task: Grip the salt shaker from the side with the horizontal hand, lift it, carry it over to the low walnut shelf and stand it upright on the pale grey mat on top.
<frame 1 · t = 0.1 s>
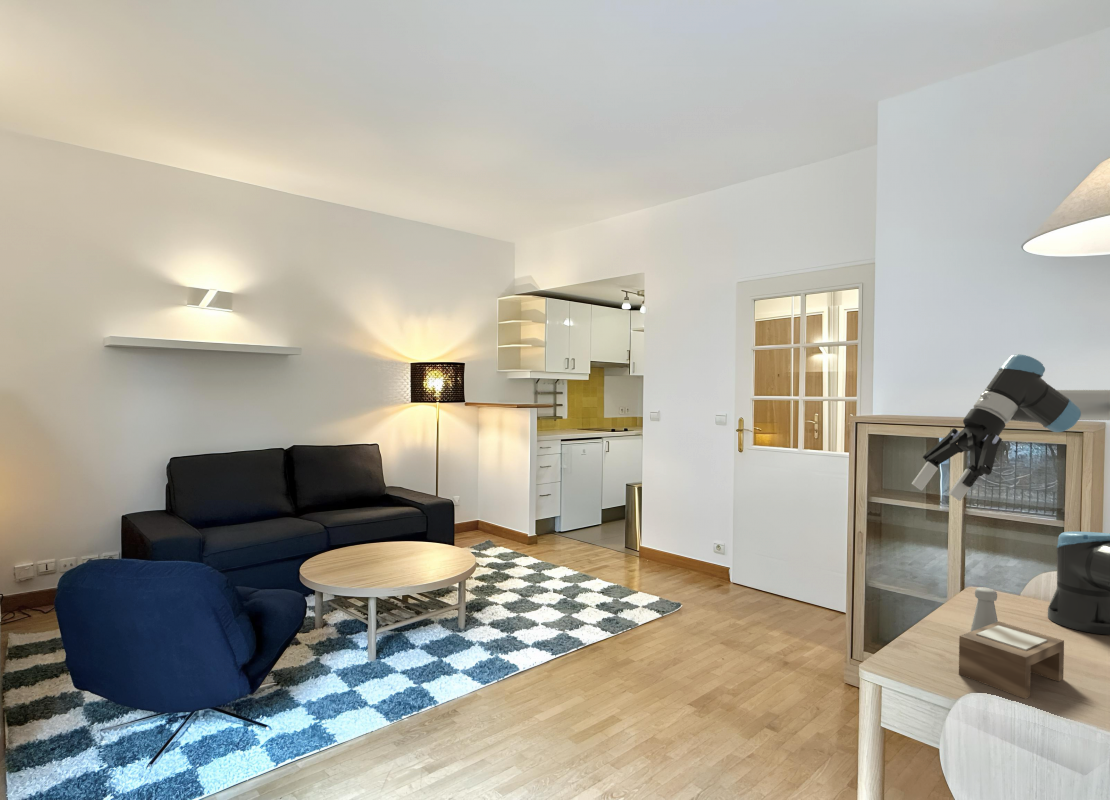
hand: (934, 492, 143), 36 cm above the table, tool tilted 35°, fingers open, 13 cm apart
salt shaker: (985, 645, 146), on the table
walnut shelf: (1010, 676, 130), on the table
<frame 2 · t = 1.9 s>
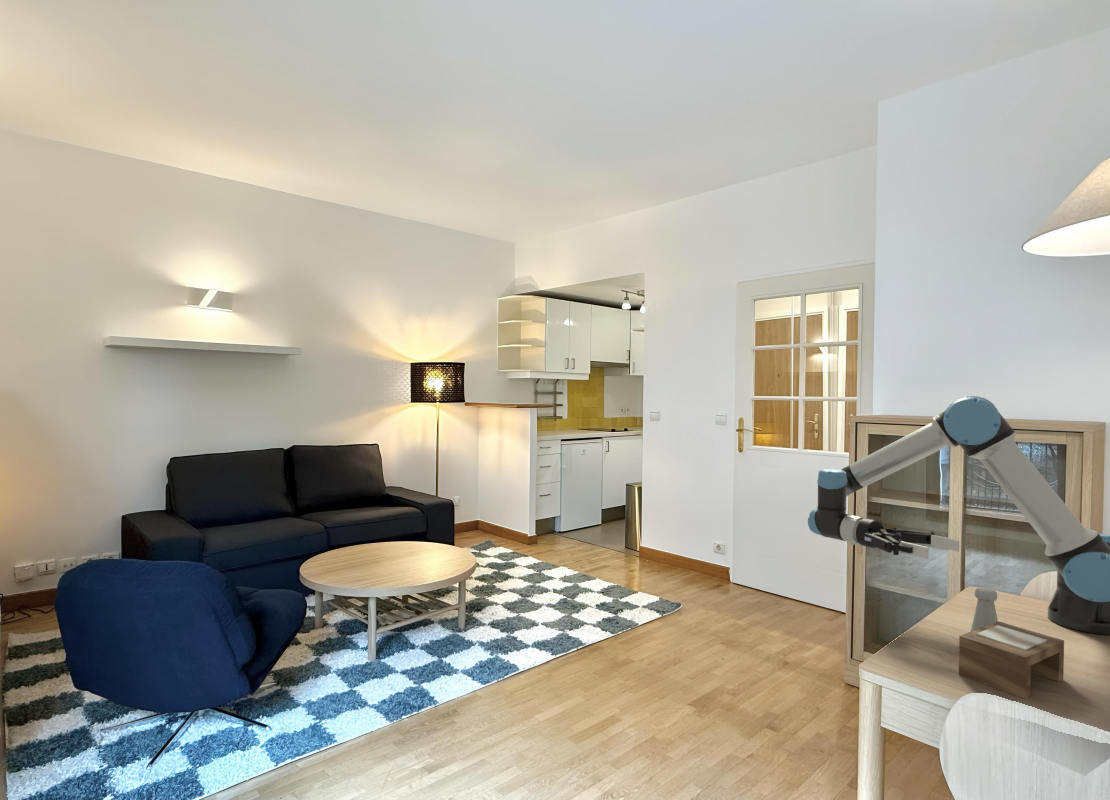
hand: (943, 549, 154), 20 cm above the table, tool horizontal, fingers open, 13 cm apart
nothing on the table moved.
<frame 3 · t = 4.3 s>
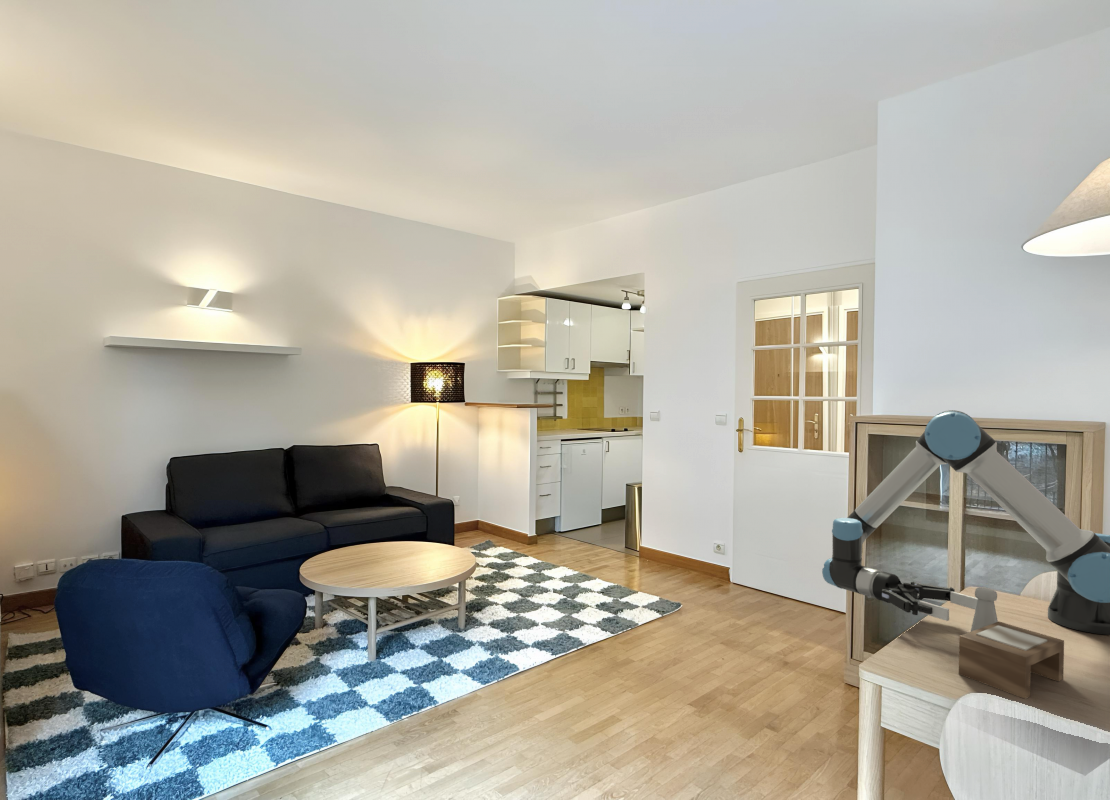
hand: (964, 609, 149), 7 cm above the table, tool horizontal, fingers open, 13 cm apart
nothing on the table moved.
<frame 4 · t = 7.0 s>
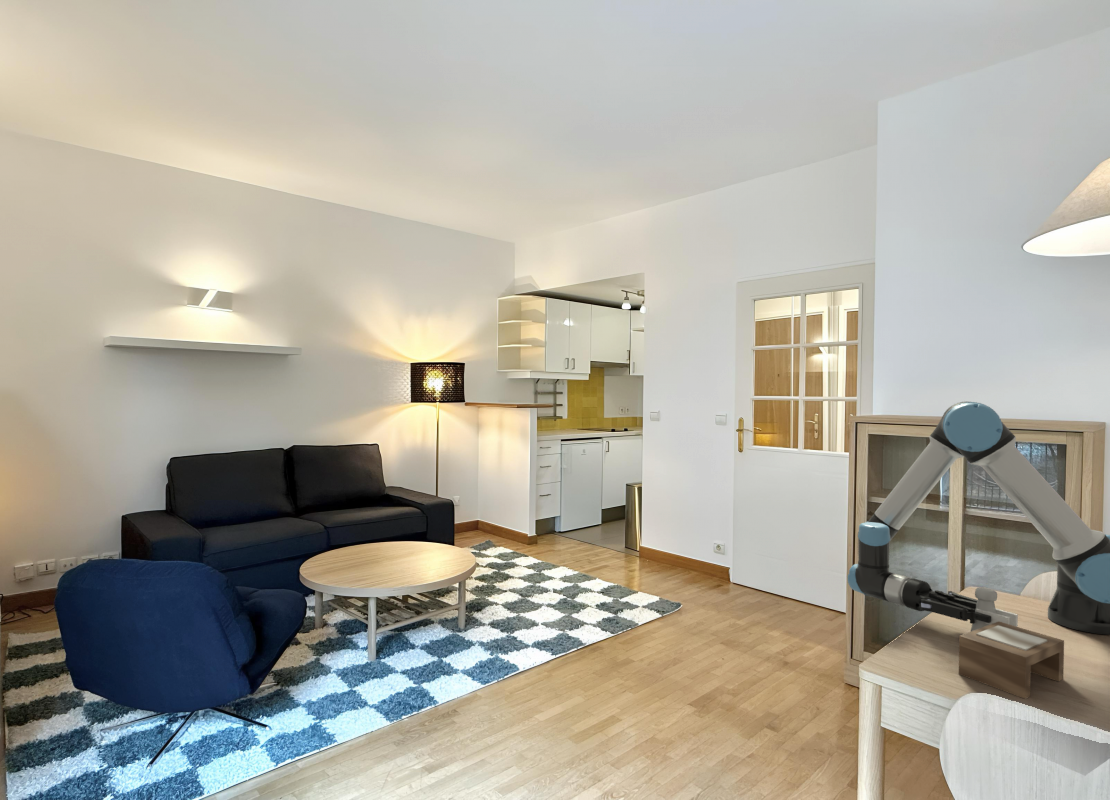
hand: (1012, 622, 141), 7 cm above the table, tool horizontal, fingers closed on salt shaker, 3 cm apart
salt shaker: (985, 645, 146), on the table, touching gripper
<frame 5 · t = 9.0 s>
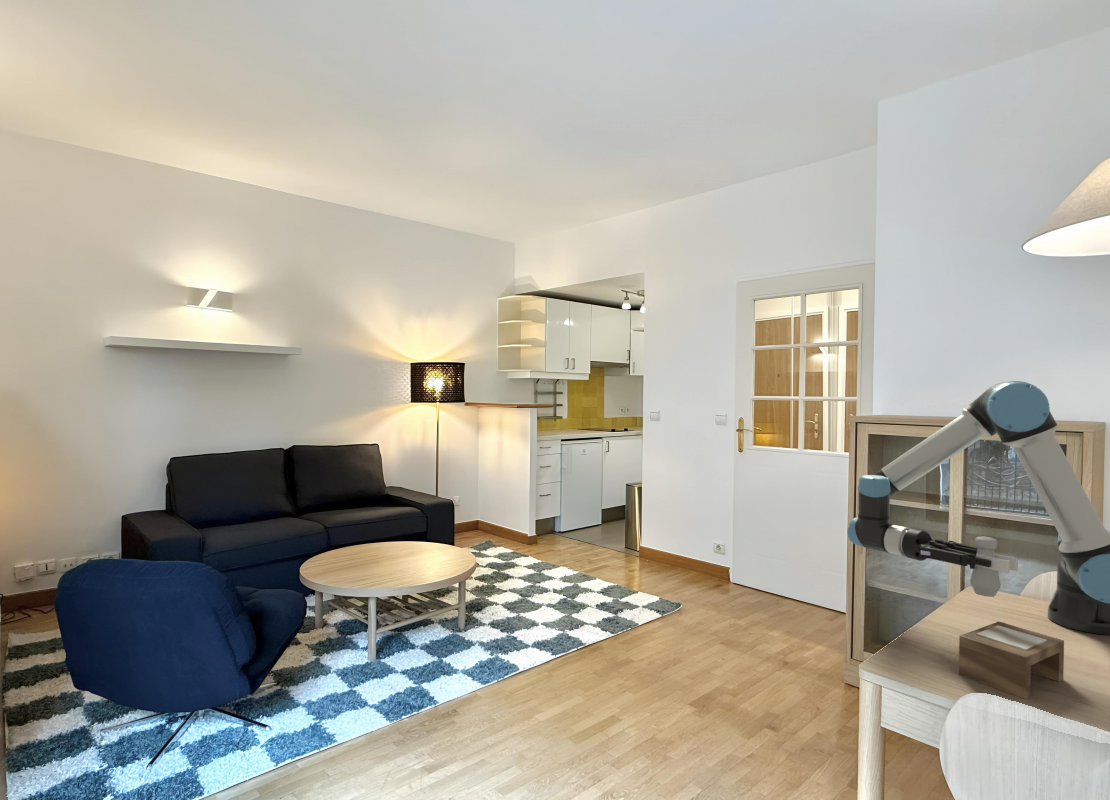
hand: (1012, 565, 140), 20 cm above the table, tool horizontal, fingers closed on salt shaker, 3 cm apart
salt shaker: (985, 594, 145), point 12 cm above the table, touching gripper
when the fingers open (17 cm above the table, at t = 11.4 s): salt shaker stays where it is, resting on walnut shelf.
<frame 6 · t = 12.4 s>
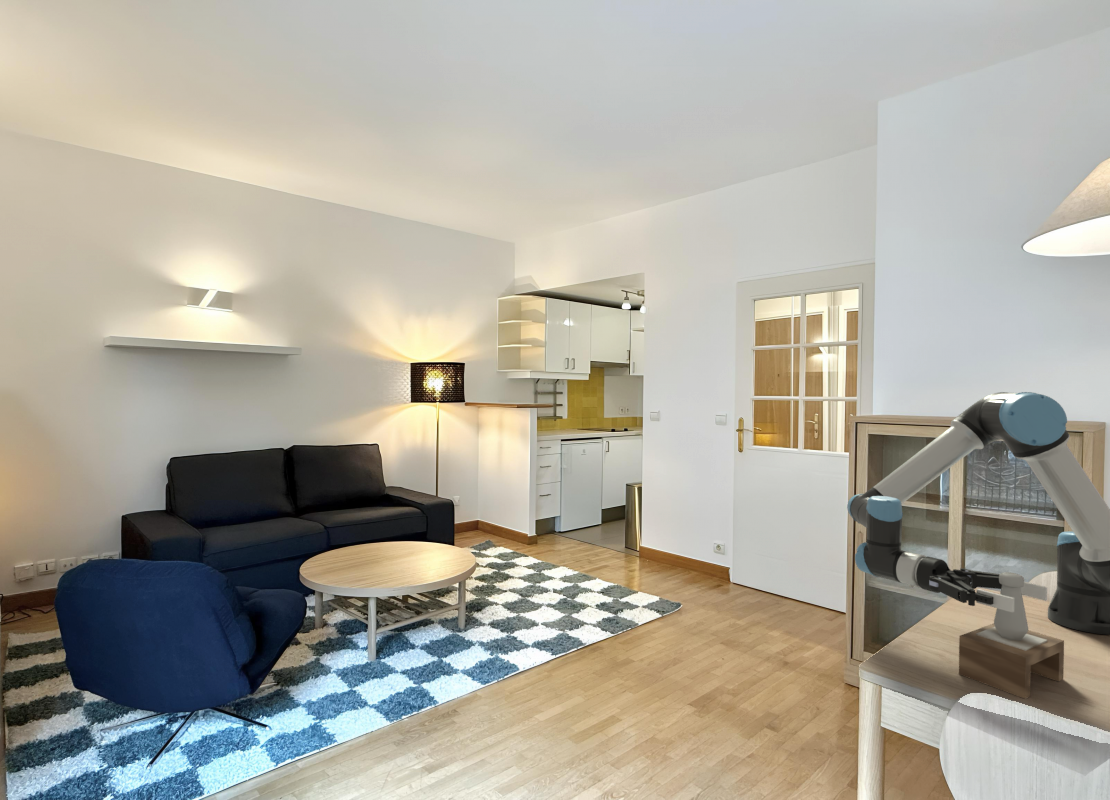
hand: (1030, 599, 127), 17 cm above the table, tool horizontal, fingers open, 13 cm apart
salt shaker: (1010, 637, 130), point 8 cm above the table, touching walnut shelf
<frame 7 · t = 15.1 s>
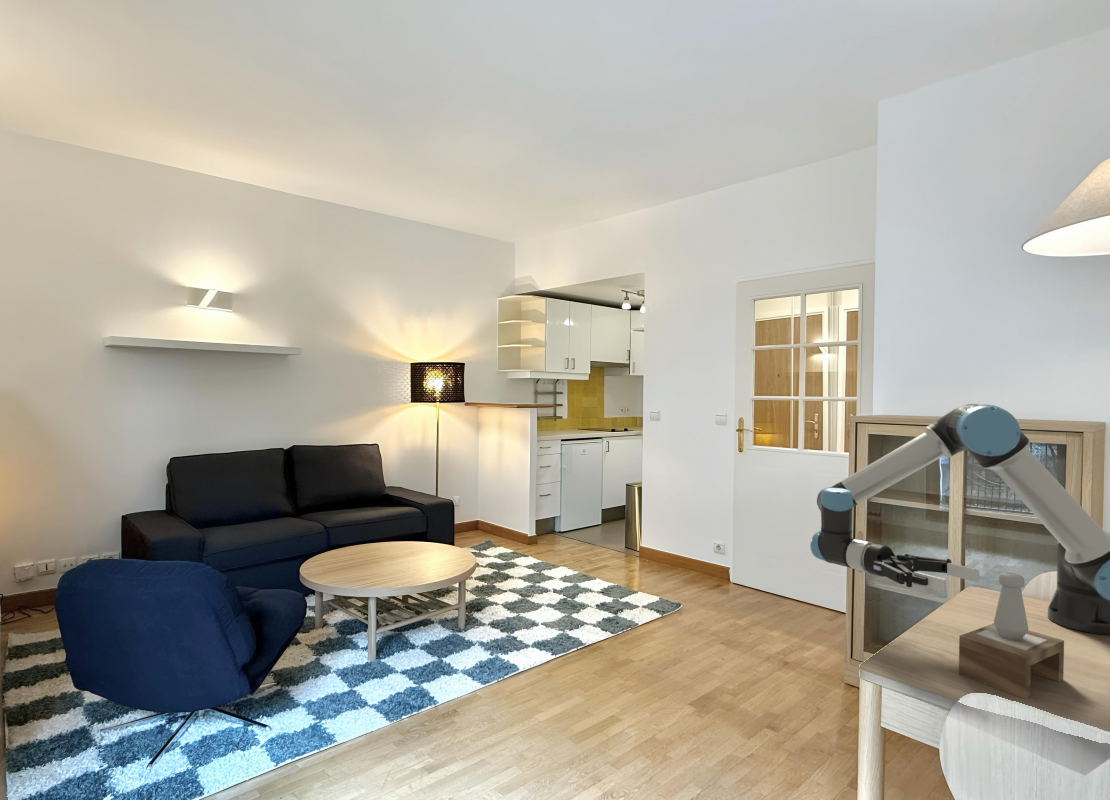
hand: (962, 580, 138), 17 cm above the table, tool horizontal, fingers open, 13 cm apart
nothing on the table moved.
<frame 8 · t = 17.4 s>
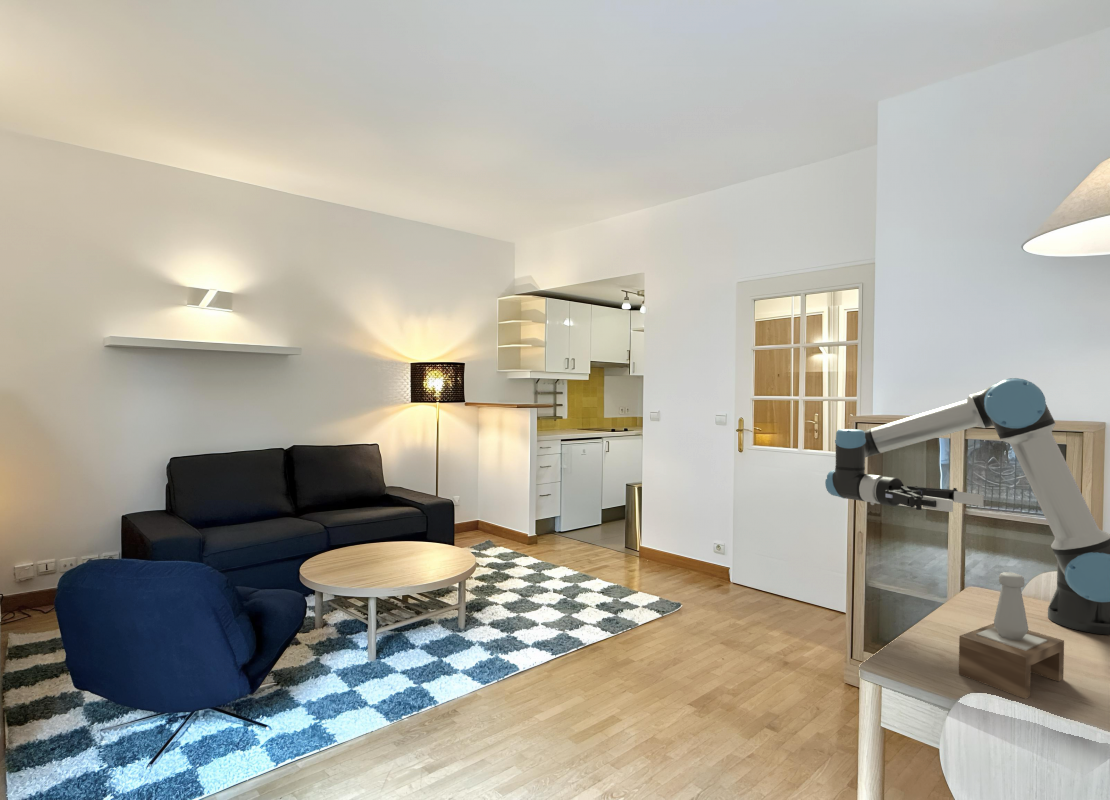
hand: (968, 503, 150), 32 cm above the table, tool horizontal, fingers open, 13 cm apart
nothing on the table moved.
at the end: salt shaker inside the target area on the walnut shelf (0.1 cm from its centre), point 8.1 cm above the walnut shelf's base; salt shaker tilted 0°; the gripper is holding nothing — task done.
